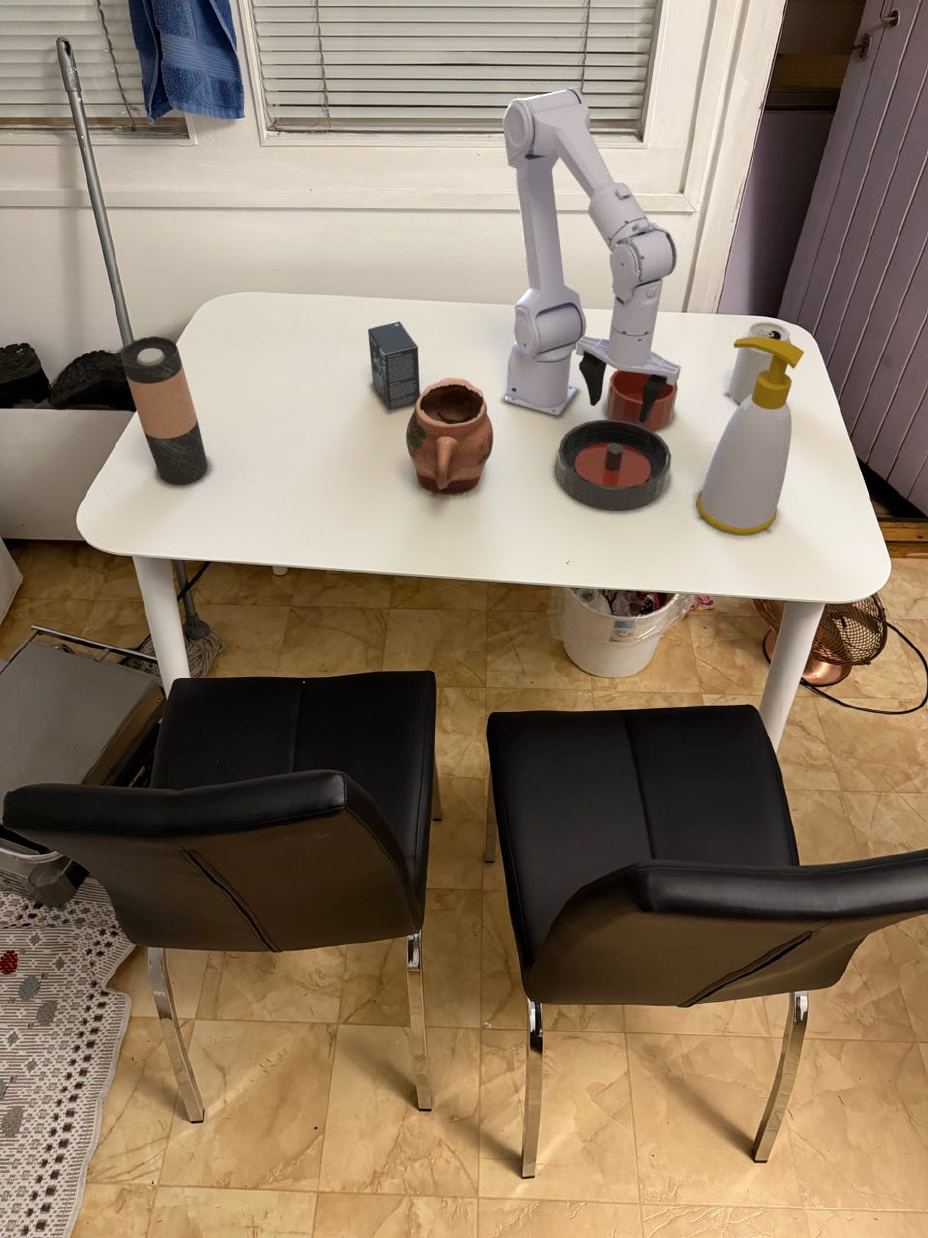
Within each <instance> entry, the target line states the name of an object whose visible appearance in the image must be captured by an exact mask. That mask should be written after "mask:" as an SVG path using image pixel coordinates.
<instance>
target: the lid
mask: <svg viewBox="0 0 928 1238" xmlns="http://www.w3.org/2000/svg"><path fill="white" fill-rule="evenodd" d="M574 469H575V473H576V474H577V475H579V476H581V477H583V478H584V479H586V480H588V481H590V482H594V483H597V484H600V485H605V486H613V487H631V486H635V485H640V484H644V483H646V482H647V481H648V479H649V477H650V473H651V466H650V463H649V461H648V459H647V458H646V457H645V456H644V455H643V454H642V453H641V452H639V451H638V450H636V449H634V448H632V447H630V446H627V445H624V444H619V443H599V444H594V445H591V446H589V447H587V448H585V449H583V450H582V451H581V452H580V453H579V454H578V455H577V457H576V459H575V463H574Z"/></svg>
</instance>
